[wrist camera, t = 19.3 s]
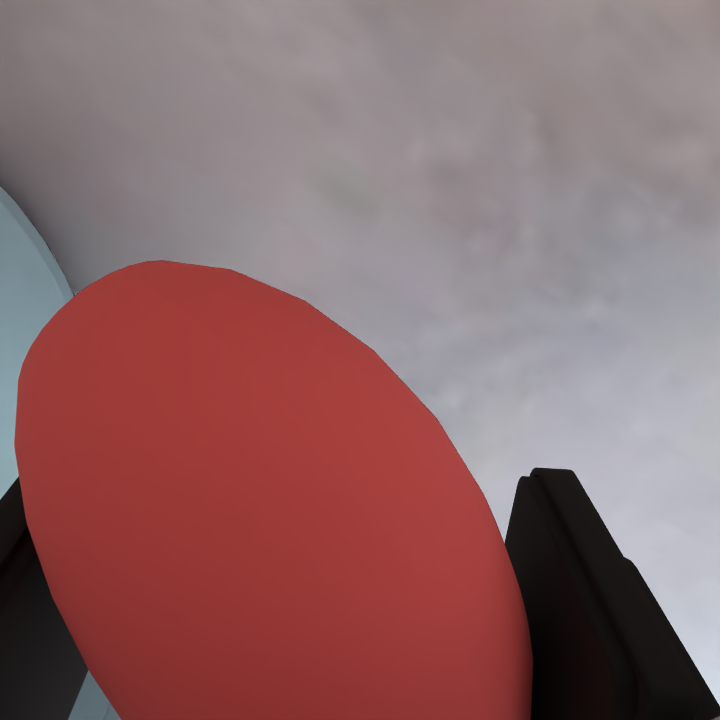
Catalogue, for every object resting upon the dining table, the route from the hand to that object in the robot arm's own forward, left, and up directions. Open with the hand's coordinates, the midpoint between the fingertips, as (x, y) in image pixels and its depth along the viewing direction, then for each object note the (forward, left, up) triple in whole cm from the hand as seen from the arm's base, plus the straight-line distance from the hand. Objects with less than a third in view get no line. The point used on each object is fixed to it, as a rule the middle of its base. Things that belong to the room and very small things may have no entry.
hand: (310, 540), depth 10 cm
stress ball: (0, 0, -1) cm, 1 cm away
